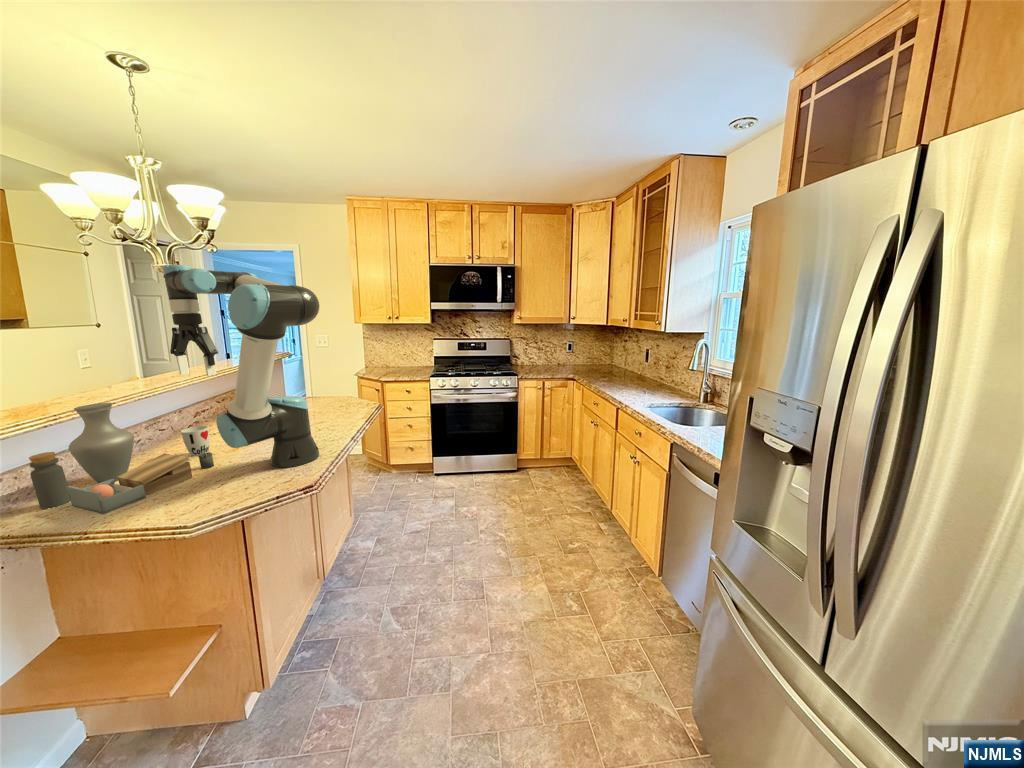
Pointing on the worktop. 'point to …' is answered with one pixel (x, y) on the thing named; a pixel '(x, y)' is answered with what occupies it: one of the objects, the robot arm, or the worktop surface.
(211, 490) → the worktop surface
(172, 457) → the ramp
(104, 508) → the bin
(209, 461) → the tee
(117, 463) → the vase
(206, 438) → the cup
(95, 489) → the ball
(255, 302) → the robot arm
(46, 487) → the bottle
